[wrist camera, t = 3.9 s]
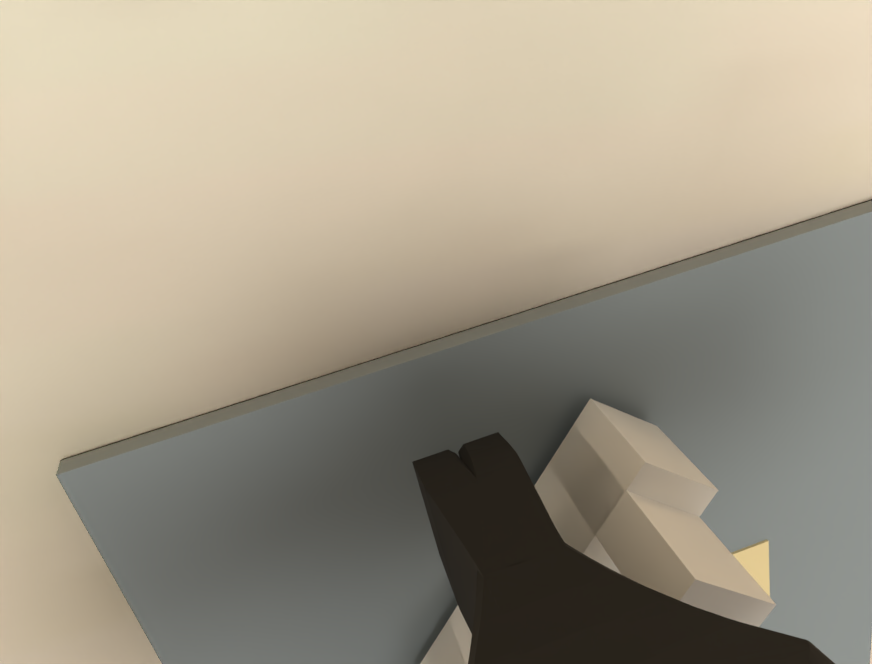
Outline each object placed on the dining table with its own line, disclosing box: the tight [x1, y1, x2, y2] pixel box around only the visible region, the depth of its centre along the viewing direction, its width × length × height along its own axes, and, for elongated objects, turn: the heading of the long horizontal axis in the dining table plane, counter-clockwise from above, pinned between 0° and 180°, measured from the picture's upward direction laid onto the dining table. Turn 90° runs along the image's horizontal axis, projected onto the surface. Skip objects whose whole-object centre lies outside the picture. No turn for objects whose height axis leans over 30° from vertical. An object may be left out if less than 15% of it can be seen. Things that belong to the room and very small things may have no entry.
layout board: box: [56, 200, 872, 664], centre depth 17 cm, size 16×15×1 cm
